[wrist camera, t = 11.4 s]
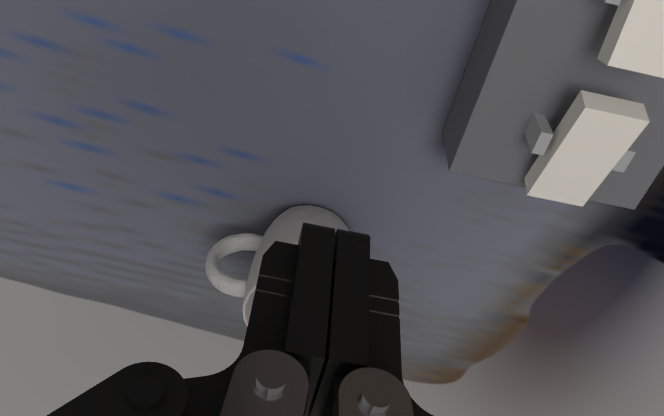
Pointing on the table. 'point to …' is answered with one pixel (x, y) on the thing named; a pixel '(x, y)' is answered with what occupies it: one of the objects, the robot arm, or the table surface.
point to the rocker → (585, 147)
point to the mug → (263, 249)
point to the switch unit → (546, 94)
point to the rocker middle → (636, 38)
